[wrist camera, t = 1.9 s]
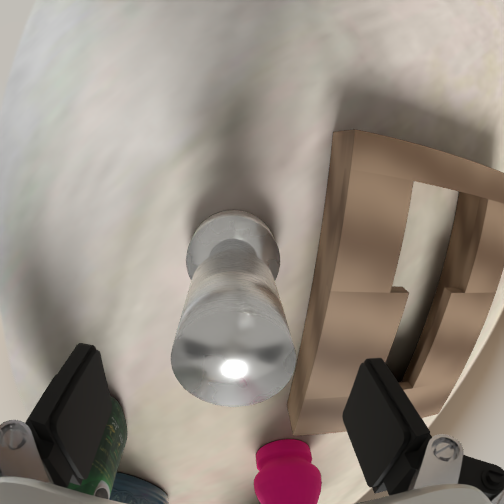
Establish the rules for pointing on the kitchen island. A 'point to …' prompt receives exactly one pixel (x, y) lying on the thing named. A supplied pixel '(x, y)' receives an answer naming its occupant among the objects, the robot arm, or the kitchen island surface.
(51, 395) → the robot arm
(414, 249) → the kitchen island surface
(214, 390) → the steel peg
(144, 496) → the canister
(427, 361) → the keyhole board
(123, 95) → the kitchen island surface
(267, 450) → the pepper mill
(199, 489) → the kitchen island surface
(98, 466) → the coffee jar
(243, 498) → the kitchen island surface
